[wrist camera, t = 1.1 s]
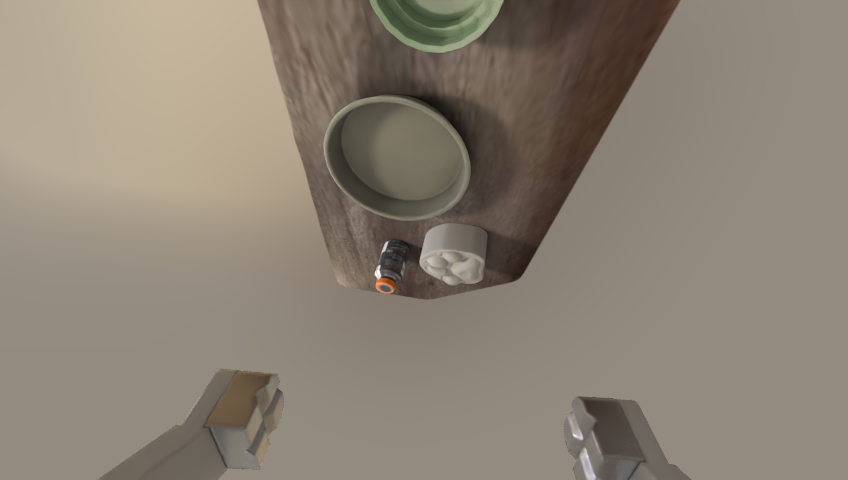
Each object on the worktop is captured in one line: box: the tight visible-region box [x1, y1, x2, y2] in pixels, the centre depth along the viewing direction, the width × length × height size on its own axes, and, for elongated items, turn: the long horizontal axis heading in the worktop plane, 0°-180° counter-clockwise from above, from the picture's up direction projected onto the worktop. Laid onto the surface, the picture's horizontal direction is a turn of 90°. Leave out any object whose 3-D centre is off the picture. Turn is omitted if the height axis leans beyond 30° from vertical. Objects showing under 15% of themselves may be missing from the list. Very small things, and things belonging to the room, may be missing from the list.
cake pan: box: [324, 94, 471, 221], centre depth 62 cm, size 25×25×4 cm
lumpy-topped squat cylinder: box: [420, 223, 488, 285], centre depth 74 cm, size 10×13×9 cm
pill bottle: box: [375, 240, 409, 294], centre depth 79 cm, size 6×6×11 cm
